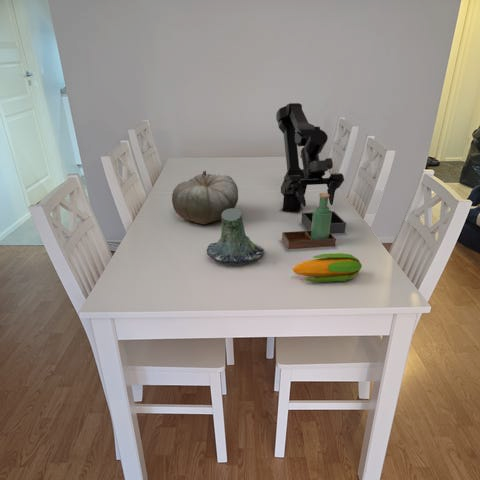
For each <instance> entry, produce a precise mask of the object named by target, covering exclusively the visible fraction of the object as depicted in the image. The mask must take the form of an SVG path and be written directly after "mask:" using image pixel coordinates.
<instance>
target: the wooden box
mask: <svg viewBox="0 0 480 480" xmlns="http://www.w3.org/2000/svg"><path fill="white" fill-rule="evenodd" d="M281 233H282V234H281V241H282V242H283V244H284V245H285V248H287V250H299V249H315V248H329V247H336V242H337V238H336V237H335V236H334V234H331V233H329V239H318V240H313V239H312V238H311V231H308V230H299V231H282V232H281Z"/></svg>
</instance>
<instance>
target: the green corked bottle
mask: <svg viewBox="0 0 480 480" xmlns="http://www.w3.org/2000/svg"><path fill="white" fill-rule="evenodd" d="M318 196H319V202H318V203H319V204H318V206H316V208H315V209H313V210H312V212H313V218H312V228H311V238H312V239H313V240H318V239H329V233H330V225H331V217H332V210H331V209H330V207H329V206H328V204H329V194H328V192H321V193H319V195H318Z"/></svg>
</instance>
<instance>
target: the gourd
mask: <svg viewBox="0 0 480 480" xmlns="http://www.w3.org/2000/svg"><path fill="white" fill-rule="evenodd" d="M238 201H239V189H238V185H237V183H236V182H235V180H234V179H233V178H232V177H231V176H230V175H227V174H212V173H207V170H203V171H202V173H200V174H196V175H195V176H194V177H193V178H190V179H189V180H186V181H182V182H180V183H178V184H177V185H176V187H174V189H173V191H172V195H171V203H172V207H173V210H174V211H175V213H176V214H177V215H178V216H179V217H180V218H181V219H183V220H185V221H187V222H193V223H195V224H198V225H199V224H200V225H207V224H209V223H212V222H215V221H219V220H222V212H223V211H224V210H226V209H231V208H236V206H237V204H238Z"/></svg>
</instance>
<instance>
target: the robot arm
mask: <svg viewBox="0 0 480 480" xmlns="http://www.w3.org/2000/svg"><path fill="white" fill-rule="evenodd" d="M275 118H276V122H277V125H278V129H279V130H280V132H281V133H282V134H283V141H284V150H285V151H284V152H285V163H286V170H287V171H286V173H285V175H284V177H283V181H282V184H281V185H280V193H281V195H282V196H283V202H282V208H281V211H282V212H289V213H299V212H300V210H301V209H302V206H303V207H304V208H305V207H306V206H307V203H306V198H305V194H306V191H307V187H308V186H313V185H314V186H315V185H326V187H327V190H326V193H327V194H329V197H328V203H329V204H330V206H333V204H334V199H335V193H336V191H337V189H339V188H340V187H341V186H342V184H343V183H344V181H345V176H344V174H343V173H341V172H339V173H338V172H336V173H330V175H329V177H324V176H325V175H326V172H328V170H331V169H333V167H334V164H333V158H332V157H331V158H330V157H327V158H325V159H324V160H321V159H320V155H319V154H321V153H322V151H323V149H324V147H325V145H326V144H327V141H328V139H329V136H328V134H327V133H326V131H324V130H322V129H321V126H315V124H312V123H310V122H309V120H308V118H307V116H306V114H305V112H304V110H303V104H301V103H299V102H289V103H287V104H286V105H285V106H283V107H282V106H281V107H280V108H279V109H278V110H277V111H276V114H275ZM298 147H302V149H301V150H300V158H301V162H302V168H301V167H300V161H299V151H298V150H299V149H298Z"/></svg>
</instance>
